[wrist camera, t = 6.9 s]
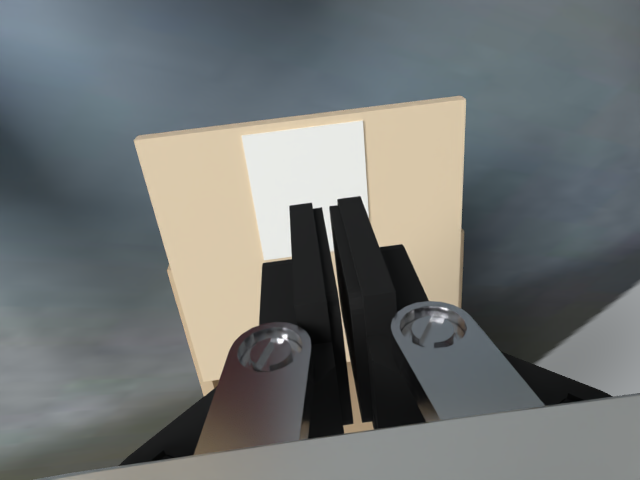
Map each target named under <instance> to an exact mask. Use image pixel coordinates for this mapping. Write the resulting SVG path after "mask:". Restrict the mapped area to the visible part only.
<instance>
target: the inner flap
mask: <svg viewBox="0 0 640 480" xmlns="http://www.w3.org/2000/svg"><path fill="white" fill-rule="evenodd" d="M465 113H466V99H465V98H463V97H462V96H454V97H446V98H438V99H430V100H422V101H414V102H405V103H397V104H389V105H381V106H373V107H365V108H357V109H349V110H341V111H333V112H325V113H317V114H309V115H300V116H292V117H284V118H276V119H268V120H260V121H252V122H244V123H236V124H228V125H220V126H212V127H204V128H196V129H187V130H179V131H171V132H163V133H155V134H147V135H139V136H137V137H136V138H135V139H134V143H135V147H136V150H137V154H138V157H139V161H140V164H141V168H142V171H143V174H144V178H145V181H146V185H147V188H148V192H149V195H150V199H151V202H152V206H153V209H154V213H155V216H156V219H157V223H158V226H159V230H160V233H161V237H162V240H163V244H164V247H165V251H166V254H167V258H168V261H169V264H170V268H171V271H172V275H173V278H174V282H175V285H176V289H177V292H178V296H179V299H180V303H181V306H182V309H183V313H184V316H185V320H186V323H187V327H188V330H189V334H190V337H191V341H192V344H193V348H194V351H195V354H196V358H197V361H198V365H199V368H200V372H201V375H202V379H203V382H206V381H213V380H219V379H220V376H221V373H222V370H223V367H224V365H225V362H226V359H227V356H228V353H229V350H230V348H231V346H232V345H233V343H234V341H235V340H236V339H237V338H238V337H239V336H240V335H241V334H243V333H244V332H246V331H248V330H249V329H251V328H253V327H256V326H259V314H260V296H261V277H262V264H263V263H266V262H274V261H281V260H288V259H292V253H291V232H290V211H289V206H290V205H297V204H305V203H312V206H313V208H320V207H322V210H323V216H324V221H325V226H326V232H327V237H328V242H329V248H330V253H331V258H332V264H333V269H334V275H335V280H336V285H337V291H338V297H339V289H338V281H337V272H336V263H335V254H334V246H333V237H332V228H331V220H330V211H329V206H335V205H337V199H342V198H349V197H356V196H361V199H362V201H363V204H364V207H365V209H366V212H367V215H368V218H369V220H370V223H371V226H372V229H373V231H374V234H375V237H376V239H377V242H378V245H379V247H384V246H391V245H399V244H403V246H404V247H405V250H406V252H407V254H408V256H409V258H410V260H411V263H412V265H413V267H414V269H415V271H416V274H417V276H418V278H419V280H420V282H421V284H422V287H423V289H424V291H425V293H426V295H427V297H428V300H429V301H437V302H444V303H448V304H452V305H455V306H457V307H458V302H459V275H460V248H461V221H462V194H463V167H464V140H465ZM339 303H340V298H339ZM340 310H341V306H340ZM341 319H342V327H343V336H344V345H345V353H346V362H351V361H350V356H349V350H348V345H347V340H346V334H345V329H344V323H343V318H342V312H341Z"/></svg>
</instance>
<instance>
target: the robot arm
mask: <svg viewBox="0 0 640 480" xmlns="http://www.w3.org/2000/svg"><path fill="white" fill-rule="evenodd" d="M289 211H290V232H291V253H292V259H288V260H281V261H274V262H266V263H263V264H262V277H261V296H260V314H259V326H256V327H253V328H251V329H249V330H248V331H246V332H244V333H243V334H241V335H240V336H239V337H238V338H237V339H236V340H235V341H234V343H233V345H232V346H231V348H230V350H229V353H228V356H227V359H226V362H225V365H224V367H223V370H222V373H221V376H220V379H219V382H218V385H217V387H215V388H214V389H213V390H212V391H210V392H209V393H208V394H207V395H205V396H204V397H203V398H202V399H200V400H199V401H198V402H197V403H195V404H194V405H193V406H191V407H190V408H189V409H188V410H186V411H185V412H184V413H183V414H181V415H180V416H179V417H178V418H176V419H175V420H174V421H173V422H171V423H170V424H169V425H167V426H166V427H165V428H164V429H162V430H161V431H160V432H159V433H157V434H156V435H155V436H154V437H152V438H151V439H150V440H149V441H147V442H146V443H145V444H143V445H142V446H141V447H140V448H138V449H137V450H136V451H135V452H133V453H132V454H131V455H130V456H128V457H127V458H126V459H125V460H124V461H123V462H122V463H121V464H120V465H119V466H117V467H110V468H103V469H96V470H89V471H82V472H75V473H69V474H63V475H58V476H52V477H47V478H41V479H35V480H640V393H637V394H631V395H622V396H615V397H613V396H611V395H609V394H607V393H605V392H603V391H601V390H598V389H596V388H593V387H590V386H588V385H585V384H583V383H580V382H577V381H575V380H572V379H570V378H567V377H565V376H562V375H559V374H557V373H554V372H552V371H549V370H547V369H544V368H541V367H539V366H536V365H534V364H531V363H529V362H526V361H523V360H521V359H518V358H516V357H513V356H511V355H508V354H505V353H503V352H500V351H499V349H498V348H497V347H496V346H495V345H494V343H493V342H492V341H491V340H490V339H489V337H488V336H487V335H486V334H485V333H484V331H483V330H482V329H481V328H480V327H479V325H478V324H477V323H476V322H475V321H474V319H473V318H472V317H471V316H470V315H469V314H468V313H467V312H465V311H464V310H463V309H461V308H459V307H457V306H455V305H452V304H448V303H444V302H437V301H429V300H428V297H427V295H426V293H425V291H424V289H423V287H422V284H421V282H420V280H419V278H418V276H417V274H416V271H415V269H414V267H413V265H412V263H411V260H410V258H409V256H408V254H407V252H406V250H405V247H404V246H403V244H399V245H391V246H384V247H379V245H378V242H377V239H376V237H375V234H374V231H373V229H372V226H371V223H370V220H369V218H368V215H367V212H366V209H365V207H364V204H363V201H362V199H361V196H356V197H349V198H342V199H337V205H335V206H329V211H330V220H331V228H332V237H333V246H334V254H335V263H336V272H337V281H338V289H339V297H338V291H337V285H336V280H335V275H334V269H333V264H332V258H331V253H330V248H329V242H328V237H327V232H326V226H325V221H324V216H323V210H322V207H320V208H313V206H312V203H305V204H297V205H290V206H289ZM339 298H340V303H339ZM340 306H341V310H340ZM341 312H342V318H343V323H344V329H345V334H346V340H347V345H348V350H349V356H350V361H351V366H352V372H353V377H354V382H355V388H356V393H357V399H358V404H359V409H360V415H361V420H362V423H364V422H372V424H373V428H374V430H366V431H359V432H352V433H345V434H344V428H343V425H350V424H354V423H353V414H352V405H351V396H350V388H349V379H348V370H347V362H346V353H345V345H344V336H343V327H342V319H341Z"/></svg>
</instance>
